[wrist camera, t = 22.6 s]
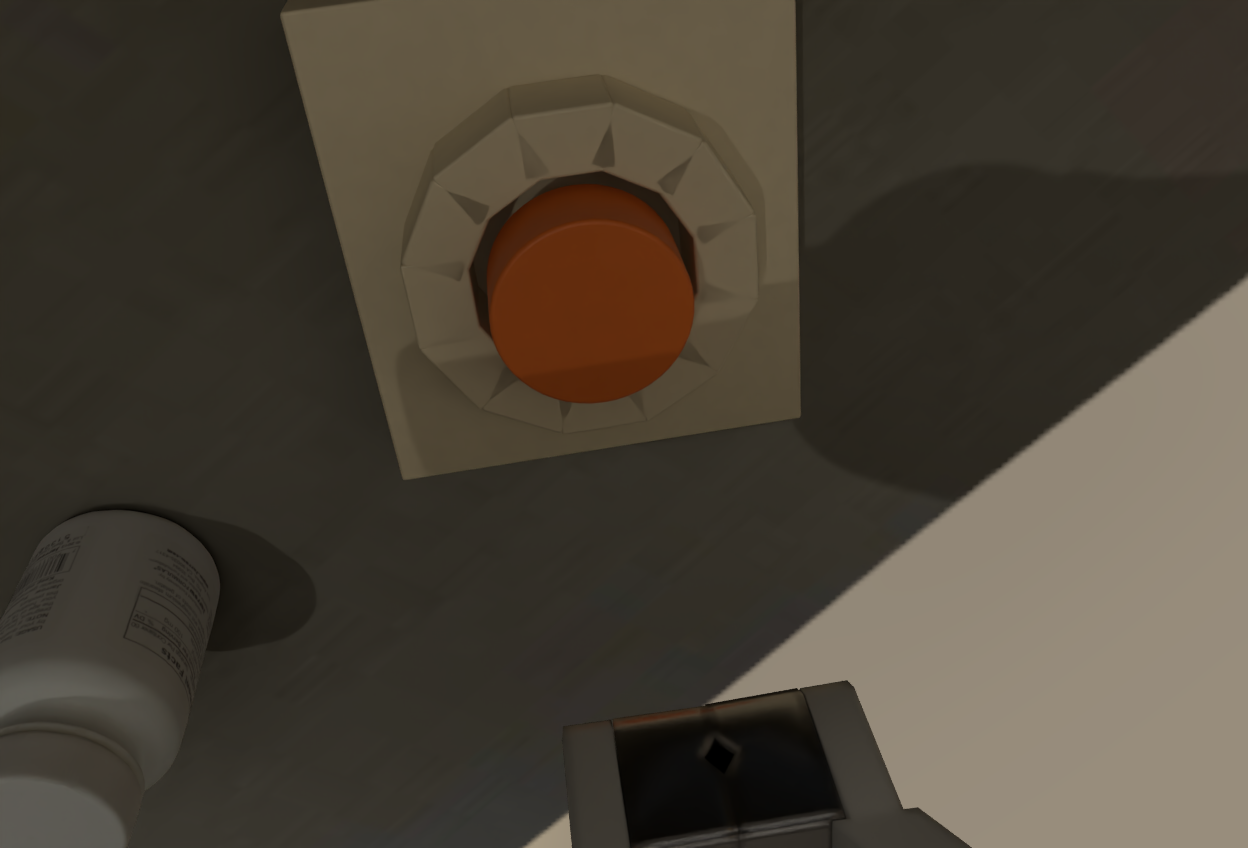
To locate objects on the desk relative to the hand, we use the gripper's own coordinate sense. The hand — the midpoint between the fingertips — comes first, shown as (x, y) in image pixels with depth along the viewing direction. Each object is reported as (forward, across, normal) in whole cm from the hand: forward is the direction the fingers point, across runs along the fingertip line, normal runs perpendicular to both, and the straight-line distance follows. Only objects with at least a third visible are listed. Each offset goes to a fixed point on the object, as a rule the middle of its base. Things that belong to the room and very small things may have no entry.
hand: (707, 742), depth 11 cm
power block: (+15, 0, 0) cm, 15 cm away
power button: (+11, 0, 0) cm, 11 cm away
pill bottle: (+15, -12, -8) cm, 21 cm away
